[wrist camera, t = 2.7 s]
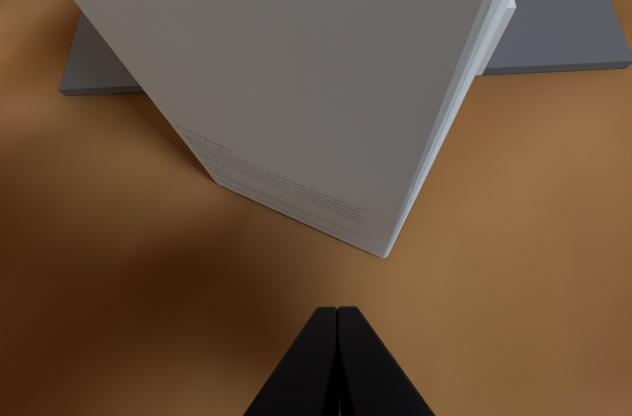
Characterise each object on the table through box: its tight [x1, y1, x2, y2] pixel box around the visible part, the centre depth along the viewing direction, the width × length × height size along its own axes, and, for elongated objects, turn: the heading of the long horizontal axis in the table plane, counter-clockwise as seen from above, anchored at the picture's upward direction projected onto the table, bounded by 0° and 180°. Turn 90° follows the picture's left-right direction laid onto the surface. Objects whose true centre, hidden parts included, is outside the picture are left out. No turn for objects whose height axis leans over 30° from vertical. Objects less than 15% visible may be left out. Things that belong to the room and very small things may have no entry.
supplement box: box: [74, 0, 510, 258], centre depth 11 cm, size 9×9×15 cm
